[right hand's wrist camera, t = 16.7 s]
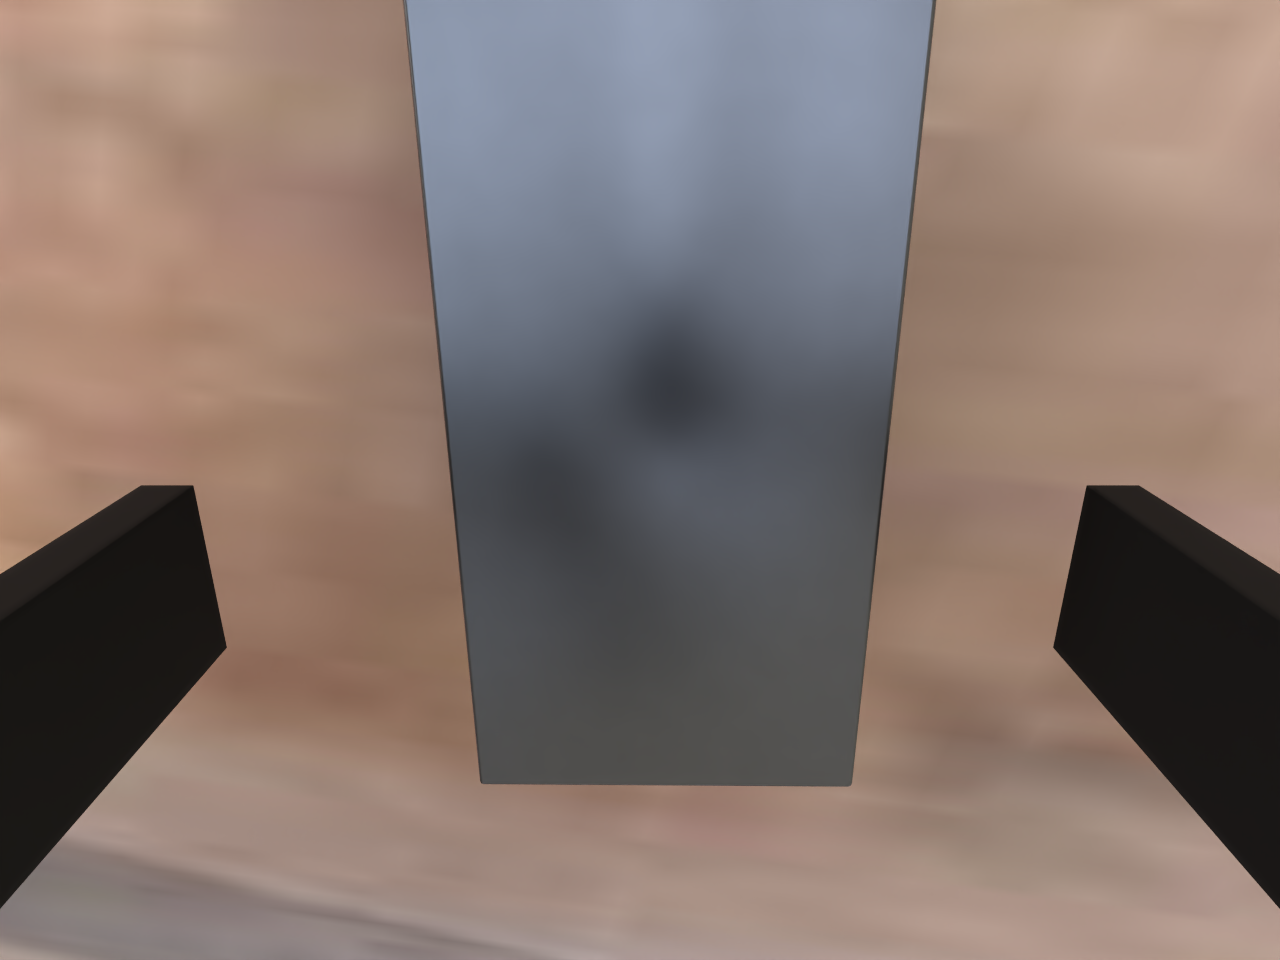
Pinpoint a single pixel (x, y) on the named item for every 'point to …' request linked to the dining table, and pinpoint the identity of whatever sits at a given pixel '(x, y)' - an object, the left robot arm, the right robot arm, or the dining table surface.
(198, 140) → the dining table surface
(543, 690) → the bar
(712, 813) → the dining table surface
